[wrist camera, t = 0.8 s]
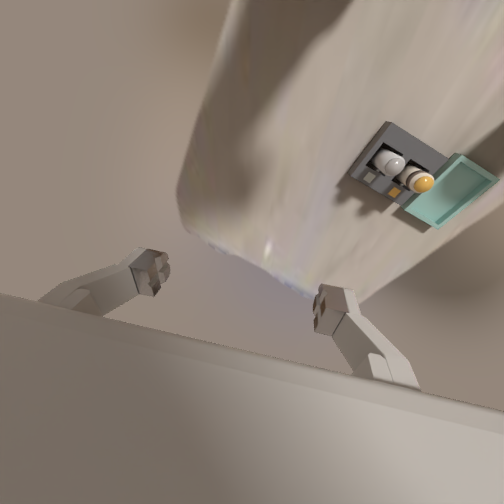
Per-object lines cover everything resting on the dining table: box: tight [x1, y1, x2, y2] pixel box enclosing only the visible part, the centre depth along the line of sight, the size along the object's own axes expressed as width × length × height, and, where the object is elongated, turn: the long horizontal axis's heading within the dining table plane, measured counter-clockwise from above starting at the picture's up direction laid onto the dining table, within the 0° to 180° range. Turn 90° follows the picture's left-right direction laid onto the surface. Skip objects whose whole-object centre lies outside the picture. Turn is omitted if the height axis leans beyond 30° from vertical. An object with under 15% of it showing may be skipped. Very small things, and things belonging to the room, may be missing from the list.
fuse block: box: [348, 121, 449, 206], centre depth 40 cm, size 10×12×3 cm
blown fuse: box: [395, 163, 434, 193], centre depth 38 cm, size 3×3×9 cm
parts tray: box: [401, 153, 500, 229], centre depth 42 cm, size 12×9×2 cm
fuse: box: [370, 148, 405, 176], centre depth 38 cm, size 3×3×9 cm
